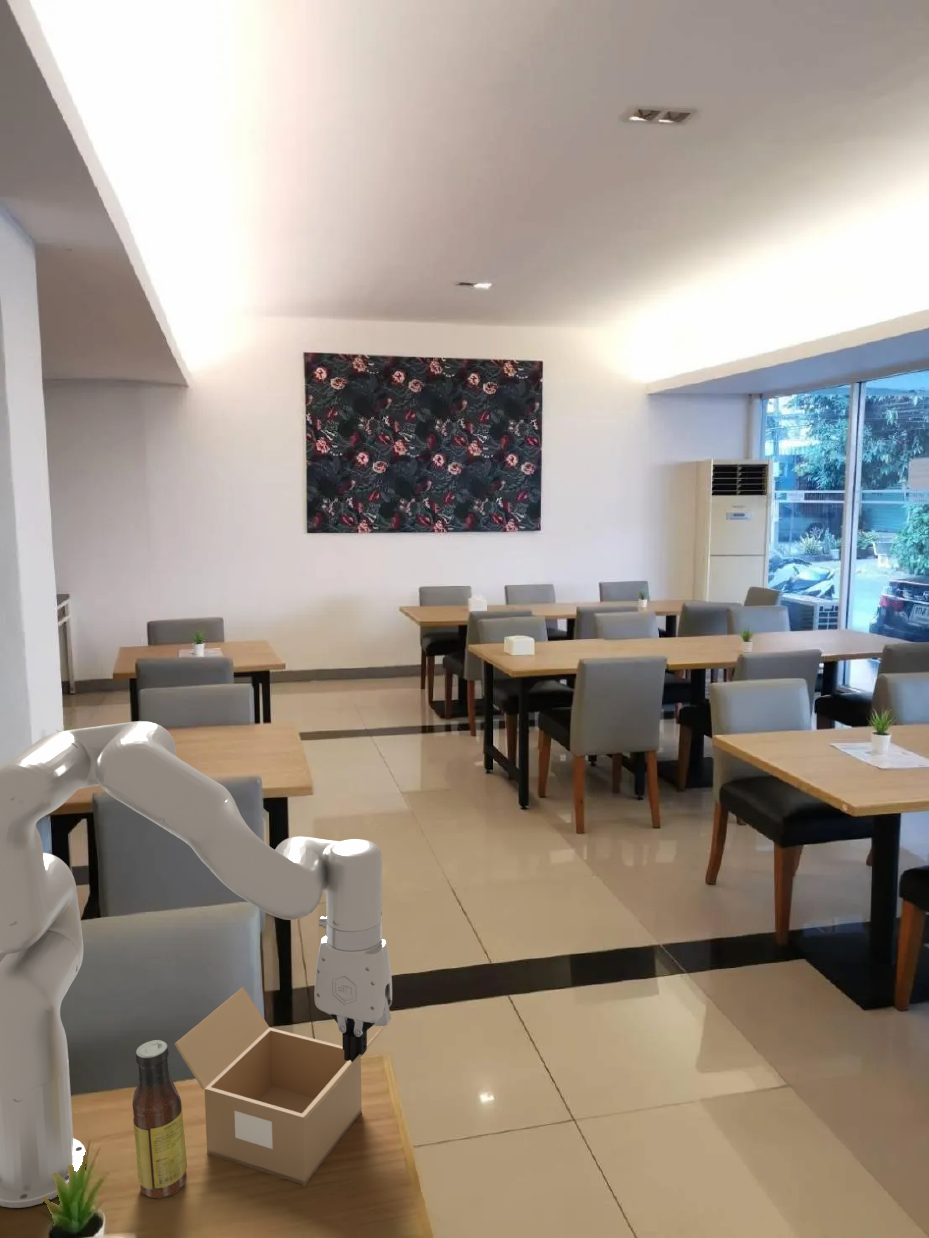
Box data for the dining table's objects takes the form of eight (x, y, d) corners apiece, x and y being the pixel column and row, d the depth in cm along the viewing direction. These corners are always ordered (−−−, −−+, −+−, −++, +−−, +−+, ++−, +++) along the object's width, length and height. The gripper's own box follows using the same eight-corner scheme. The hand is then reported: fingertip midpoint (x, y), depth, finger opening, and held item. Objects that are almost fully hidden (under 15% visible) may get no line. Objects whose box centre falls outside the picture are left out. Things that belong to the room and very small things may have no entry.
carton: (206, 1154, 130) (204, 1088, 129) (271, 1086, 145) (269, 1027, 144) (304, 1185, 125) (303, 1117, 123) (361, 1112, 139) (360, 1050, 138)
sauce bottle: (194, 1168, 128) (188, 1035, 125) (176, 1203, 121) (169, 1063, 119) (149, 1165, 128) (142, 1032, 126) (128, 1199, 122) (120, 1060, 119)
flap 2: (360, 1050, 138) (362, 1052, 138) (303, 1117, 123) (305, 1119, 123) (387, 1020, 136) (389, 1022, 135) (332, 1085, 121) (334, 1087, 121)
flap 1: (204, 1088, 129) (202, 1089, 129) (269, 1027, 144) (267, 1028, 144) (175, 1042, 130) (174, 1044, 130) (243, 986, 145) (241, 987, 145)
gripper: (292, 933, 126) (293, 1058, 128) (391, 954, 120) (391, 1085, 123) (320, 910, 132) (321, 1029, 135) (415, 929, 127) (414, 1053, 130)
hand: (354, 1055), depth 129 cm, fingers closed
